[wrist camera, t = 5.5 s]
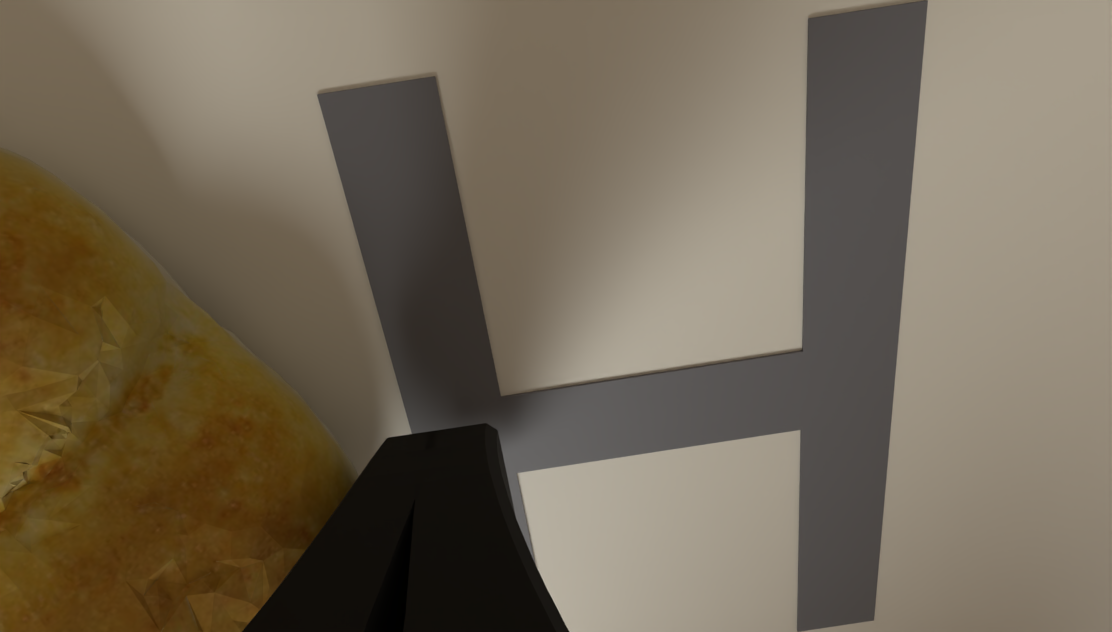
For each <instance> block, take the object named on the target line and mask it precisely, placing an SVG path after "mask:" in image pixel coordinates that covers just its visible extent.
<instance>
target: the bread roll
mask: <svg viewBox="0 0 1112 632" xmlns="http://www.w3.org/2000/svg"><path fill="white" fill-rule="evenodd" d="M358 477H359V475H358V473H357V471H356V469H355V467H354V465H353V464H352V462H351V461H350V459H349V458H348V456H347V455H346V453H345V452H344V450H343V449H342V447H341V446H340V444H339V443H338V442H337V440H336V439H335V437H334V436H333V434H332V433H331V431H330V430H329V429H328V428H327V426H326V425H325V424H324V423H323V422H322V421H321V420H320V418H319V417H318V416H317V415H316V414H315V413H314V411H313V410H312V409H311V407H310V406H309V405H308V404H307V402H306V401H305V400H304V399H303V397H302V396H301V395H300V393H299V392H297V391H296V390H295V389H294V388H293V387H292V386H291V385H290V384H289V383H287V382H286V381H285V380H284V379H283V377H282V376H281V375H280V374H279V373H278V372H276V371H275V370H274V369H272V368H271V367H270V366H268V365H267V364H266V363H264V362H263V361H262V360H261V359H259V358H258V357H257V356H256V355H254V354H253V353H252V352H251V351H250V350H249V349H248V348H247V347H246V346H245V344H244V343H243V342H242V341H241V340H240V339H239V338H238V337H237V336H236V335H235V334H234V333H233V332H231V331H229V330H227V329H226V328H224V327H222V326H220V325H219V324H218V323H217V322H216V321H215V320H214V319H213V318H212V317H211V316H210V315H209V314H208V313H207V312H206V311H204V310H203V309H202V308H201V307H199V306H198V305H197V304H195V303H194V302H193V301H191V300H190V298H189V297H188V296H187V295H186V293H185V292H184V291H183V289H182V288H181V287H180V286H179V285H178V283H177V282H176V281H175V280H174V279H173V277H172V276H171V275H170V274H169V273H168V272H167V270H166V269H165V268H164V267H163V266H162V264H161V263H160V262H159V261H157V260H156V259H155V258H154V257H153V256H152V255H151V254H150V253H149V252H148V251H147V250H146V249H145V248H144V247H143V246H142V245H141V244H140V243H139V242H138V241H137V240H136V239H134V238H133V237H132V236H130V235H129V234H128V233H127V232H125V231H124V230H123V229H122V228H120V227H119V226H118V225H117V224H116V223H115V222H114V221H113V220H112V219H111V218H110V217H109V216H108V215H107V214H106V213H105V212H104V211H103V210H102V209H101V208H100V207H98V206H97V205H95V204H94V203H92V202H91V201H89V200H88V199H87V198H85V197H84V196H82V195H81V194H79V193H78V192H77V191H75V190H74V189H73V188H71V187H70V186H69V185H67V184H66V183H65V182H63V181H62V180H61V179H59V178H58V177H57V176H55V175H54V174H53V173H51V172H49V171H48V170H46V169H44V168H43V167H41V166H39V165H38V164H36V163H34V162H33V161H31V160H29V159H28V158H25V157H23V156H21V155H19V154H17V153H14V152H12V151H10V150H8V149H4V148H0V632H242V631H243V630H244V628H245V627H246V626H247V625H248V624H249V622H250V621H251V620H252V619H253V617H254V616H255V615H256V614H257V613H258V611H259V610H260V609H261V608H262V606H263V605H264V604H265V603H266V602H267V600H268V599H269V598H270V597H271V595H272V594H273V593H274V591H275V590H276V589H277V588H278V586H279V585H280V584H281V582H282V581H283V580H284V578H285V577H286V576H287V574H288V573H289V572H290V570H291V569H292V568H293V566H294V565H295V564H296V562H297V561H298V560H299V558H300V557H301V556H302V554H303V553H304V552H305V550H306V549H307V548H308V546H309V545H310V544H311V542H312V541H313V540H314V538H315V537H316V536H317V534H318V533H319V532H320V530H321V529H322V528H323V526H324V525H325V523H326V522H327V521H328V519H329V518H330V516H331V515H332V514H333V512H334V511H335V509H336V508H337V507H338V505H339V504H340V502H341V501H342V500H343V498H344V497H345V495H346V494H347V492H348V491H349V490H350V488H351V487H352V485H353V484H354V483H355V481H356V480H357V478H358Z"/></svg>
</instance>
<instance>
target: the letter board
mask: <svg viewBox="0 0 1112 632" xmlns="http://www.w3.org/2000/svg"><path fill="white" fill-rule="evenodd" d="M0 148H4V149H8V150H10V151H12V152H14V153H17V154H19V155H21V156H23V157H25V158H28V159H29V160H31V161H33V162H34V163H36V164H38V165H39V166H41V167H43V168H44V169H46V170H48V171H49V172H51V173H53V174H54V175H55V176H57V177H58V178H59V179H61V180H62V181H63V182H65V183H66V184H67V185H69V186H70V187H71V188H73V189H74V190H75V191H77V192H78V193H79V194H81V195H82V196H84V197H85V198H87V199H88V200H89V201H91V202H92V203H94V204H95V205H97V206H98V207H100V208H101V209H102V210H103V211H104V212H105V213H106V214H107V215H108V216H109V217H110V218H111V219H112V220H113V221H114V222H115V223H116V224H117V225H118V226H119V227H120V228H122V229H123V230H124V231H125V232H127V233H128V234H129V235H130V236H132V237H133V238H134V239H136V240H137V241H138V242H139V243H140V244H141V245H142V246H143V247H144V248H145V249H146V250H147V251H148V252H149V253H150V254H151V255H152V256H153V257H154V258H155V259H156V260H157V261H159V262H160V263H161V264H162V266H163V267H164V268H165V269H166V270H167V272H168V273H169V274H170V275H171V276H172V277H173V279H174V280H175V281H176V282H177V283H178V285H179V286H180V287H181V288H182V289H183V291H184V292H185V293H186V295H187V296H188V297H189V298H190V300H191V301H193V302H194V303H195V304H197V305H198V306H199V307H201V308H202V309H203V310H204V311H206V312H207V313H208V314H209V315H210V316H211V317H212V318H213V319H214V320H215V321H216V322H217V323H218V324H219V325H220V326H222V327H224V328H226V329H227V330H229V331H231V332H233V333H234V334H235V335H236V336H237V337H238V338H239V339H240V340H241V341H242V342H243V343H244V344H245V346H246V347H247V348H248V349H249V350H250V351H251V352H252V353H253V354H254V355H256V356H257V357H258V358H259V359H261V360H262V361H263V362H264V363H266V364H267V365H268V366H270V367H271V368H272V369H274V370H275V371H276V372H278V373H279V374H280V375H281V376H282V377H283V379H284V380H285V381H286V382H287V383H289V384H290V385H291V386H292V387H293V388H294V389H295V390H296V391H297V392H299V393H300V395H301V396H302V397H303V399H304V400H305V401H306V402H307V404H308V405H309V406H310V407H311V409H312V410H313V411H314V413H315V414H316V415H317V416H318V417H319V418H320V420H321V421H322V422H323V423H324V424H325V425H326V426H327V428H328V429H329V430H330V431H331V433H332V434H333V436H334V437H335V439H336V440H337V442H338V443H339V444H340V446H341V447H342V449H343V450H344V452H345V453H346V455H347V456H348V458H349V459H350V461H351V462H352V464H353V465H354V467H355V469H356V471H357V473H358V475H360V474H361V473H362V471H363V470H364V468H365V467H366V465H367V464H368V463H369V461H370V460H371V458H372V457H373V456H374V454H375V453H376V452H377V450H378V449H379V447H380V446H381V445H382V444H383V442H384V441H385V440H386V439H387V438H388V437H395V436H402V435H408V434H415V433H422V432H429V431H435V430H442V429H449V428H456V427H462V426H469V425H476V424H483V423H487V424H489V425H490V426H492V427H493V428H495V429H497V430H498V434H499V439H500V443H501V448H502V453H503V458H504V463H505V467H506V472H507V477H508V482H509V487H510V492H511V496H512V501H513V506H514V511H515V516H516V520H517V522H518V524H519V527H520V529H521V531H522V534H523V536H524V539H525V541H526V543H527V546H528V548H529V551H530V553H531V555H532V558H533V560H534V562H535V564H536V567H537V569H538V571H539V573H540V575H541V577H542V579H543V581H544V584H545V586H546V588H547V590H548V592H549V594H550V595H551V597H552V599H553V601H554V603H555V605H556V607H557V609H558V611H559V613H560V615H561V617H562V619H563V621H564V623H565V625H566V627H567V628H568V630H569V632H1112V0H0Z"/></svg>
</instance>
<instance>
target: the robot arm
mask: <svg viewBox="0 0 1112 632" xmlns="http://www.w3.org/2000/svg"><path fill="white" fill-rule="evenodd" d="M242 632H569V630H568V628H567V627H566V625H565V623H564V621H563V619H562V617H561V615H560V613H559V611H558V609H557V607H556V605H555V603H554V601H553V599H552V597H551V595H550V594H549V592H548V590H547V588H546V586H545V584H544V581H543V579H542V577H541V575H540V573H539V571H538V569H537V567H536V564H535V562H534V560H533V558H532V555H531V553H530V551H529V548H528V546H527V543H526V541H525V539H524V536H523V534H522V531H521V529H520V527H519V524H518V522H517V520H516V516H515V511H514V506H513V501H512V496H511V492H510V487H509V482H508V477H507V472H506V467H505V463H504V458H503V453H502V448H501V443H500V439H499V434H498V430H497V429H495V428H493V427H492V426H490V425H489V424H487V423H483V424H476V425H469V426H462V427H456V428H449V429H442V430H435V431H429V432H422V433H415V434H408V435H402V436H395V437H388V438H387V439H386V440H385V441H384V442H383V444H382V445H381V446H380V447H379V449H378V450H377V452H376V453H375V454H374V456H373V457H372V458H371V460H370V461H369V463H368V464H367V465H366V467H365V468H364V470H363V471H362V473H361V474H360V475H359V477H358V478H357V480H356V481H355V483H354V484H353V485H352V487H351V488H350V490H349V491H348V492H347V494H346V495H345V497H344V498H343V500H342V501H341V502H340V504H339V505H338V507H337V508H336V509H335V511H334V512H333V514H332V515H331V516H330V518H329V519H328V521H327V522H326V523H325V525H324V526H323V528H322V529H321V530H320V532H319V533H318V534H317V536H316V537H315V538H314V540H313V541H312V542H311V544H310V545H309V546H308V548H307V549H306V550H305V552H304V553H303V554H302V556H301V557H300V558H299V560H298V561H297V562H296V564H295V565H294V566H293V568H292V569H291V570H290V572H289V573H288V574H287V576H286V577H285V578H284V580H283V581H282V582H281V584H280V585H279V586H278V588H277V589H276V590H275V591H274V593H273V594H272V595H271V597H270V598H269V599H268V600H267V602H266V603H265V604H264V605H263V606H262V608H261V609H260V610H259V611H258V613H257V614H256V615H255V616H254V617H253V619H252V620H251V621H250V622H249V624H248V625H247V626H246V627H245V628H244V630H243V631H242Z"/></svg>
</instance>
